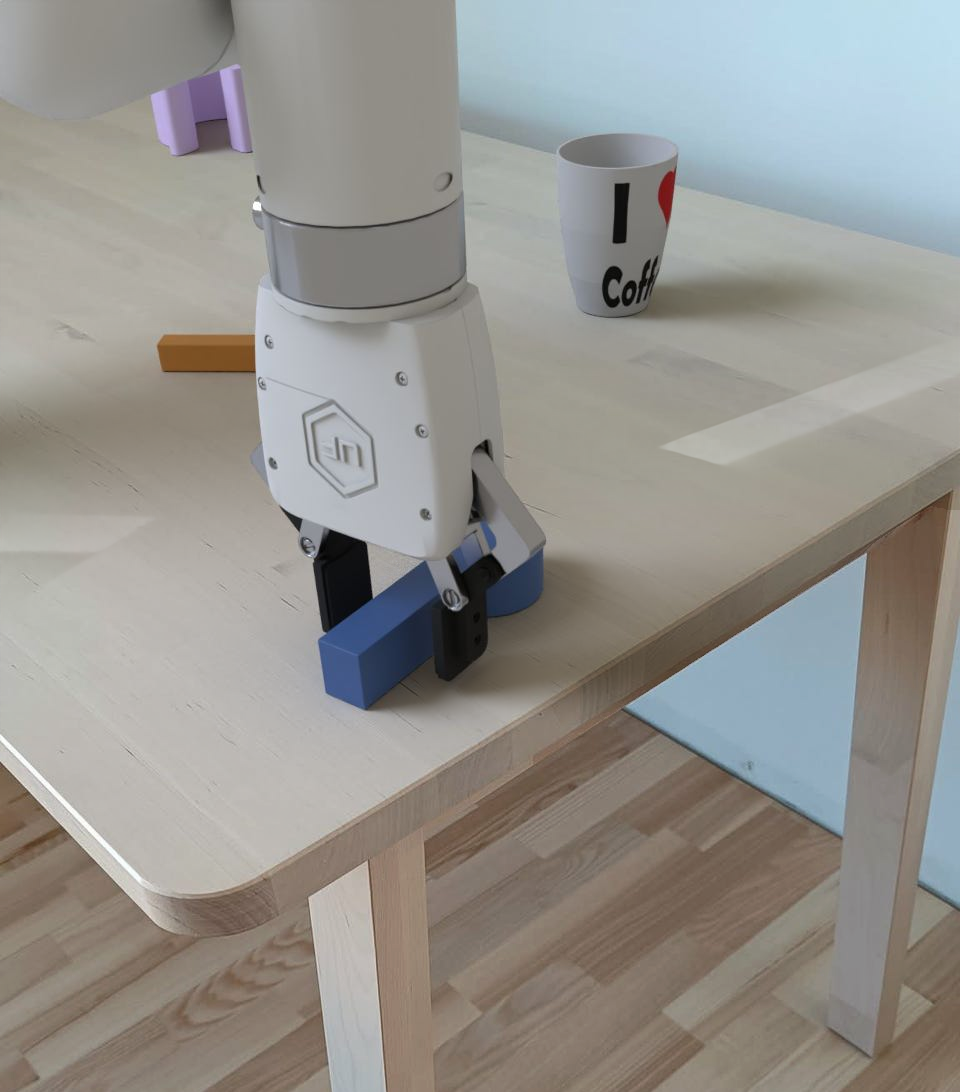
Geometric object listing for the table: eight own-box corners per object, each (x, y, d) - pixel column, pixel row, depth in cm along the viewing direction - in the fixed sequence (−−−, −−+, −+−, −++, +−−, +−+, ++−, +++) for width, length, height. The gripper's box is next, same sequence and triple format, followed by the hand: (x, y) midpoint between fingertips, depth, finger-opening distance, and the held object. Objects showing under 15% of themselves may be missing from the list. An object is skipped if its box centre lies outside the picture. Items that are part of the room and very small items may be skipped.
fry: (161, 371, 86) (156, 344, 84) (168, 360, 87) (163, 333, 86) (307, 372, 85) (303, 345, 84) (312, 360, 86) (308, 334, 85)
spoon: (392, 722, 57) (386, 667, 55) (299, 682, 60) (290, 628, 58) (564, 577, 65) (565, 525, 63) (476, 547, 68) (473, 496, 66)
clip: (178, 100, 136) (164, 24, 131) (294, 95, 136) (285, 19, 131) (147, 157, 122) (130, 74, 117) (276, 151, 121) (265, 67, 117)
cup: (601, 335, 87) (605, 176, 80) (533, 300, 92) (532, 148, 85) (692, 306, 90) (704, 151, 83) (621, 273, 95) (627, 125, 88)
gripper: (135, 238, 50) (218, 625, 62) (497, 327, 42) (508, 747, 55) (265, 185, 54) (317, 557, 67) (614, 256, 46) (600, 661, 59)
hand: (403, 639), depth 60 cm, fingers open, 6 cm apart
